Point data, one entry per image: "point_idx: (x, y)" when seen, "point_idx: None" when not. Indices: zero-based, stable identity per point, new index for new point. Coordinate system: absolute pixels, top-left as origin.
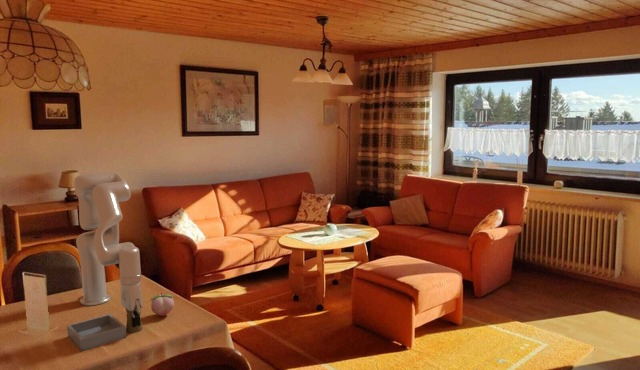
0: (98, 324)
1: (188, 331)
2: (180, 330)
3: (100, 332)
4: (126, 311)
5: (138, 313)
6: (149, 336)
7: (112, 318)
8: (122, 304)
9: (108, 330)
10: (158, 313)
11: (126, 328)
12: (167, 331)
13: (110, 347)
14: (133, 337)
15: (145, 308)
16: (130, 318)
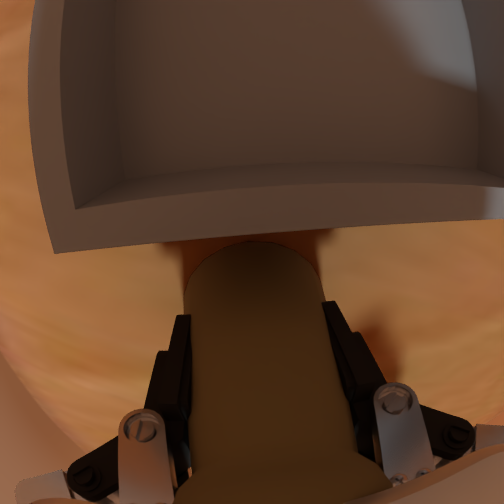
0: (489, 80)
1: (83, 444)
2: (101, 439)
3: (354, 19)
4: (409, 395)
5: (48, 479)
6: (72, 342)
7: (467, 185)
8: (480, 486)
9: (52, 15)
10: None
11: (267, 258)
12: (108, 415)
13: (25, 61)
14: (93, 257)
15: (463, 385)
16: (204, 381)
